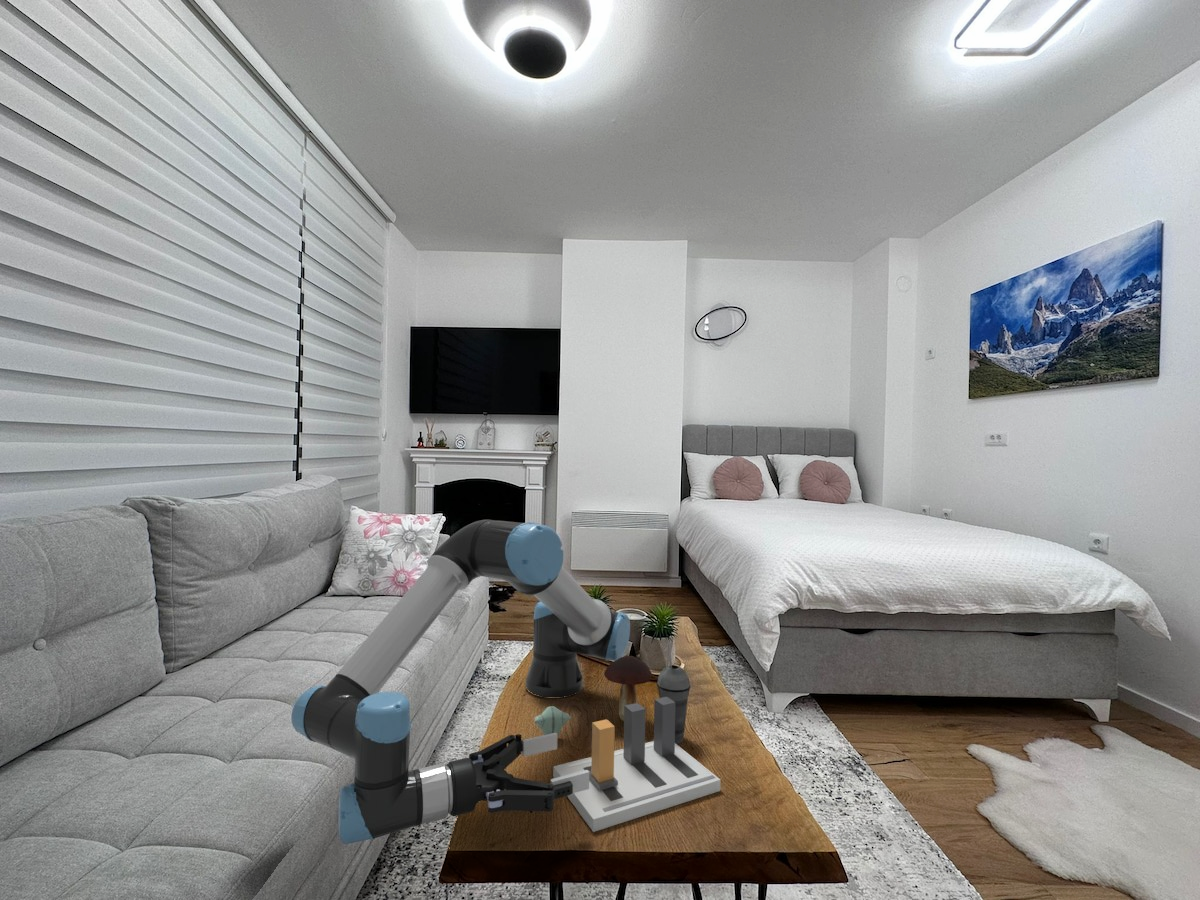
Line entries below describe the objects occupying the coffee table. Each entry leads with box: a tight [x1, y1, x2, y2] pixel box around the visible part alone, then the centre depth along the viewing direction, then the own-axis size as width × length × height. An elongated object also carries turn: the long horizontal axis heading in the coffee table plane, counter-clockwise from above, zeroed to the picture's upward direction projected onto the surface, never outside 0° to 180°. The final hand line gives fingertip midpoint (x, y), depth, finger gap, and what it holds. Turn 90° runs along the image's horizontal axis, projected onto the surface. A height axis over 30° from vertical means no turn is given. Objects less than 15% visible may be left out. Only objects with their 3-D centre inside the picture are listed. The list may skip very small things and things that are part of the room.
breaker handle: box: [589, 719, 618, 790], centre depth 98 cm, size 5×4×10 cm
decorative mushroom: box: [604, 655, 653, 722], centre depth 126 cm, size 11×11×15 cm
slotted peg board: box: [552, 697, 722, 833], centre depth 101 cm, size 17×26×12 cm, turn 117°
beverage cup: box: [656, 644, 691, 745], centre depth 118 cm, size 7×7×20 cm
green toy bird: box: [534, 705, 572, 737], centre depth 117 cm, size 8×4×7 cm, turn 106°
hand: (571, 758), depth 95 cm, fingers open, 13 cm apart
